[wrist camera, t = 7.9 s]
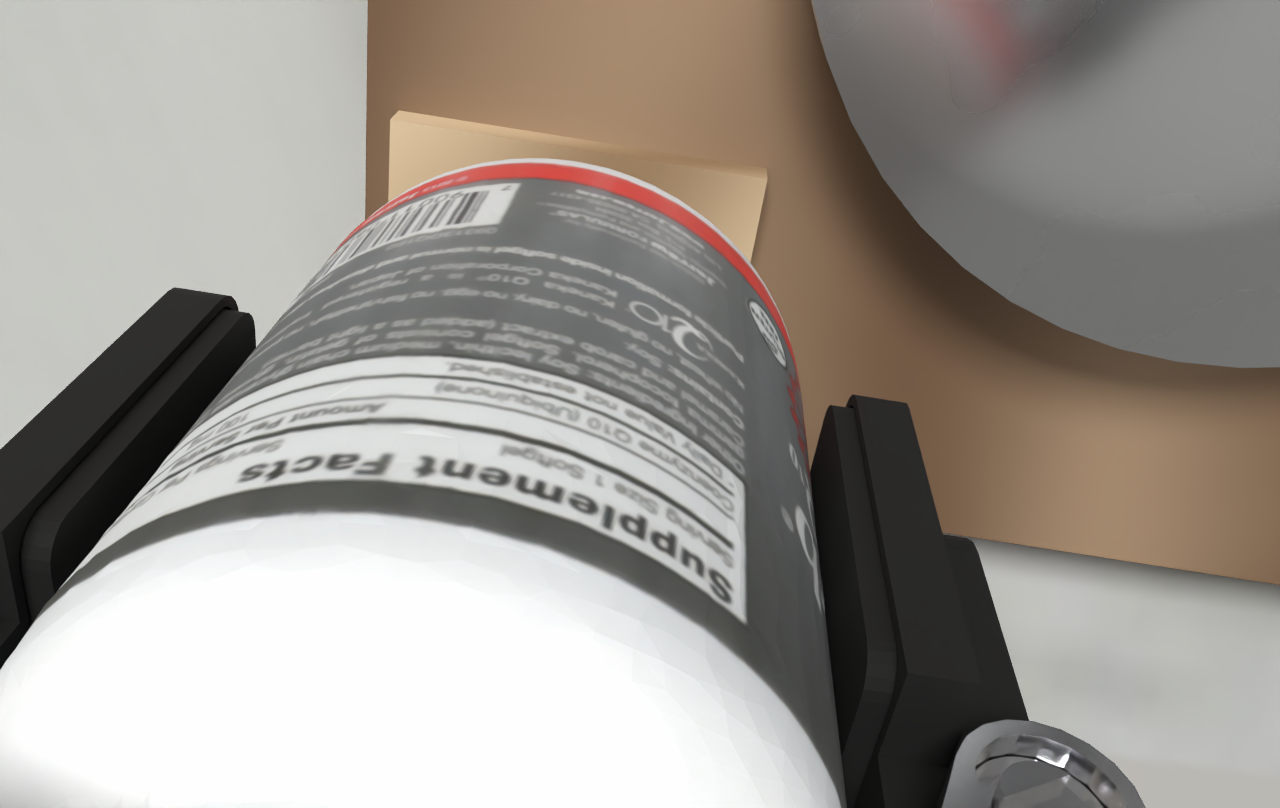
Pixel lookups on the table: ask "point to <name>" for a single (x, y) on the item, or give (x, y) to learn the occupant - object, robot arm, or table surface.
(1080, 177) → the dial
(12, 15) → the table surface
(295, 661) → the pill bottle
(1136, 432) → the dial board
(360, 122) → the table surface
